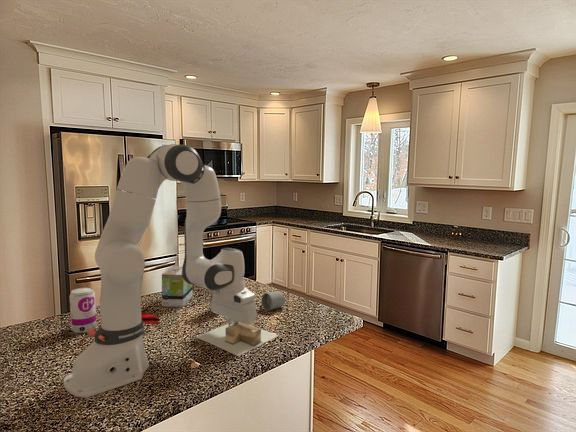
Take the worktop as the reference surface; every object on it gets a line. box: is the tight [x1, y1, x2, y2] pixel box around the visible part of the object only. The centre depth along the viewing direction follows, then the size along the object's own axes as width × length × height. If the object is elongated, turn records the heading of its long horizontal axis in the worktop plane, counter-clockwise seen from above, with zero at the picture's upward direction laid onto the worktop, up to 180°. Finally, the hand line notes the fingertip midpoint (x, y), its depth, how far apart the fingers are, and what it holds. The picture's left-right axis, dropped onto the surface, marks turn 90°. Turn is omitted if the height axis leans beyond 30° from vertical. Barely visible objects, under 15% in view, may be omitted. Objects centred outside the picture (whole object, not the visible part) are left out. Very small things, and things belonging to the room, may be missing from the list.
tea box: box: [161, 266, 193, 308], centre depth 171 cm, size 15×10×15 cm
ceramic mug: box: [260, 290, 286, 312], centre depth 165 cm, size 11×8×8 cm
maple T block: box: [226, 321, 262, 345], centre depth 132 cm, size 11×10×4 cm
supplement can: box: [68, 287, 97, 334], centre depth 139 cm, size 8×8×15 cm
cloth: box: [141, 310, 161, 325], centre depth 153 cm, size 26×14×2 cm, turn 39°
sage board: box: [195, 322, 280, 357], centre depth 134 cm, size 20×22×1 cm
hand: (232, 329), depth 136 cm, fingers closed
